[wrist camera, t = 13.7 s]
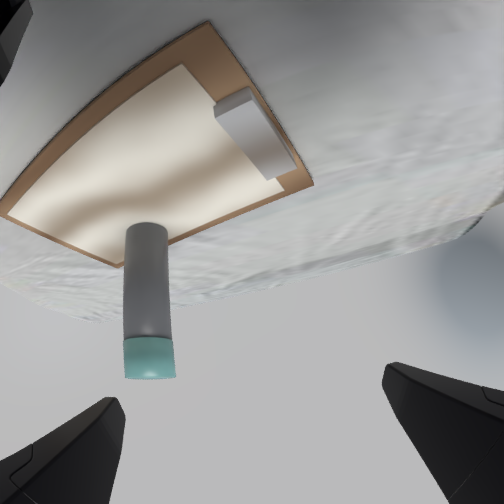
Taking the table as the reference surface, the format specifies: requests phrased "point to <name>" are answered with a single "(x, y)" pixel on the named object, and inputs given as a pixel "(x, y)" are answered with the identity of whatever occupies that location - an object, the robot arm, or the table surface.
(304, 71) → the table surface
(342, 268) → the table surface
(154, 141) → the clipboard
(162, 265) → the marker
